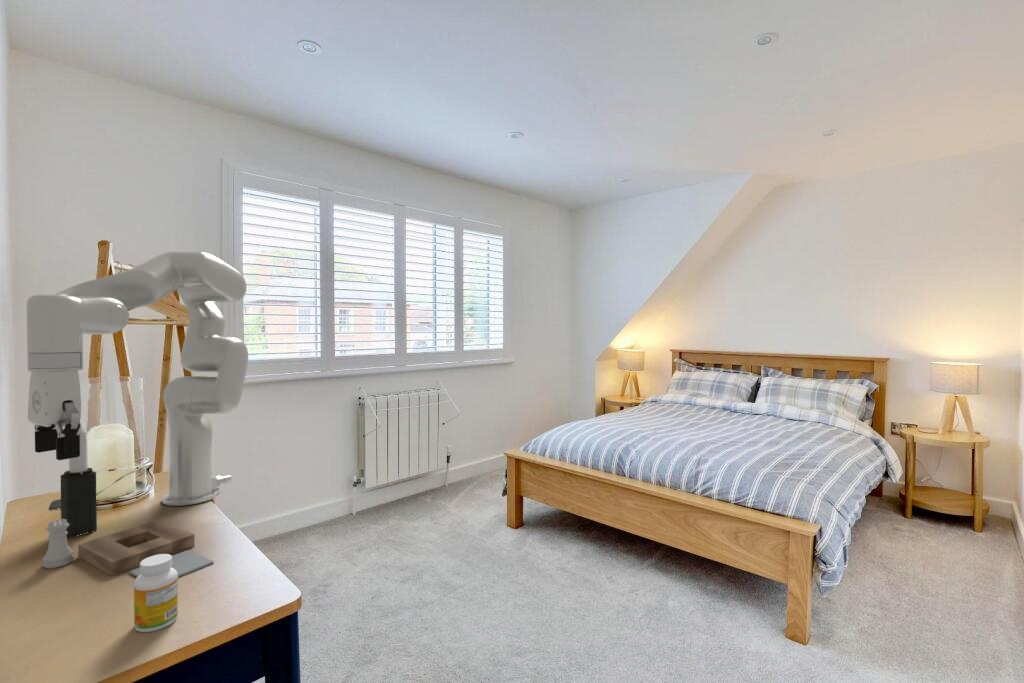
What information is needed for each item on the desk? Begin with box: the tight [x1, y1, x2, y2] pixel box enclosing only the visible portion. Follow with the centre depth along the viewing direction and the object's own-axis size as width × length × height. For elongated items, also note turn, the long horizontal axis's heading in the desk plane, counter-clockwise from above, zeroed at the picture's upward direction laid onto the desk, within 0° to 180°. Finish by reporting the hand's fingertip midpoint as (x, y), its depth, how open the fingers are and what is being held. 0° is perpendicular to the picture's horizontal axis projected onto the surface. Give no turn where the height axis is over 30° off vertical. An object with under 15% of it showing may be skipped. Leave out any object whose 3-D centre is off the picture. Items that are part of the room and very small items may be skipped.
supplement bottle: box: [133, 554, 179, 633], centre depth 75 cm, size 5×5×10 cm
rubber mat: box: [128, 549, 215, 578], centre depth 92 cm, size 10×9×1 cm
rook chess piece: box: [42, 519, 75, 569], centre depth 93 cm, size 4×4×8 cm
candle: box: [60, 421, 98, 539], centre depth 107 cm, size 5×5×25 cm
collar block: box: [77, 520, 195, 577], centre depth 99 cm, size 14×14×2 cm
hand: (57, 454), depth 92 cm, fingers open, 9 cm apart
